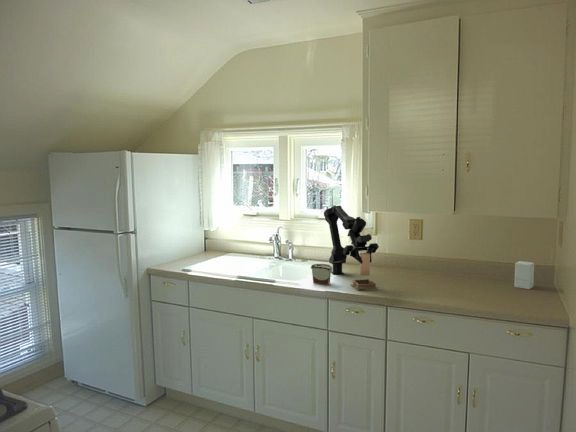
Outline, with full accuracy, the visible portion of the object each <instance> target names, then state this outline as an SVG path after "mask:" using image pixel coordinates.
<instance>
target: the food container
mask: <svg viewBox="0 0 576 432" xmlns="http://www.w3.org/2000/svg"><path fill="white" fill-rule="evenodd" d="M331 265H332V264H331ZM331 265H330V264H327V263H314V264H311V266H310V269H311V274H312V283H313V284H314V285H315V284H317V285H322V286H330V285H331V284H330V283H331V274H332V273H331V271H333V266H331Z"/></svg>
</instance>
